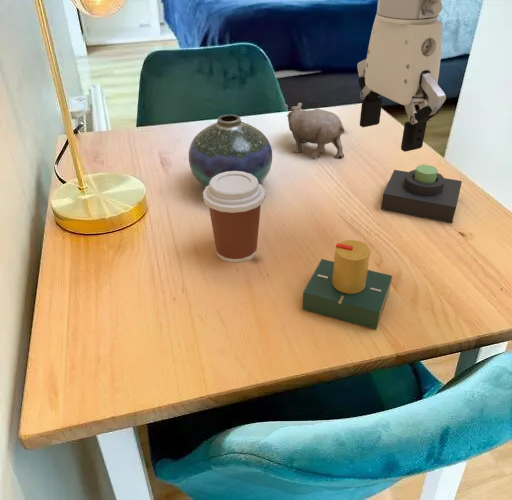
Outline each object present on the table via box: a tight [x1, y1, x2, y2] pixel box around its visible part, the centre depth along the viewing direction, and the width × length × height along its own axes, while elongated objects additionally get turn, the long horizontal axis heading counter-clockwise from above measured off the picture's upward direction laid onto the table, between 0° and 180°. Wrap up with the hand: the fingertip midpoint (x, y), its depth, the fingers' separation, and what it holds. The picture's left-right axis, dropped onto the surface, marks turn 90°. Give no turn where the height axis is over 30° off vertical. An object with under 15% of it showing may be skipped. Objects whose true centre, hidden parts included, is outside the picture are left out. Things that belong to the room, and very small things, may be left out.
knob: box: [332, 239, 371, 294], centre depth 66 cm, size 4×4×6 cm
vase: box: [188, 113, 273, 189], centre depth 93 cm, size 15×15×13 cm
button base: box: [380, 169, 463, 224], centre depth 89 cm, size 12×10×5 cm
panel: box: [301, 258, 393, 331], centre depth 68 cm, size 10×9×3 cm
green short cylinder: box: [414, 164, 439, 184], centre depth 87 cm, size 4×4×2 cm
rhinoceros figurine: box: [284, 102, 346, 160], centre depth 107 cm, size 8×14×15 cm
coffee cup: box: [202, 171, 267, 264], centre depth 76 cm, size 9×9×12 cm
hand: (389, 136), depth 72 cm, fingers open, 9 cm apart
